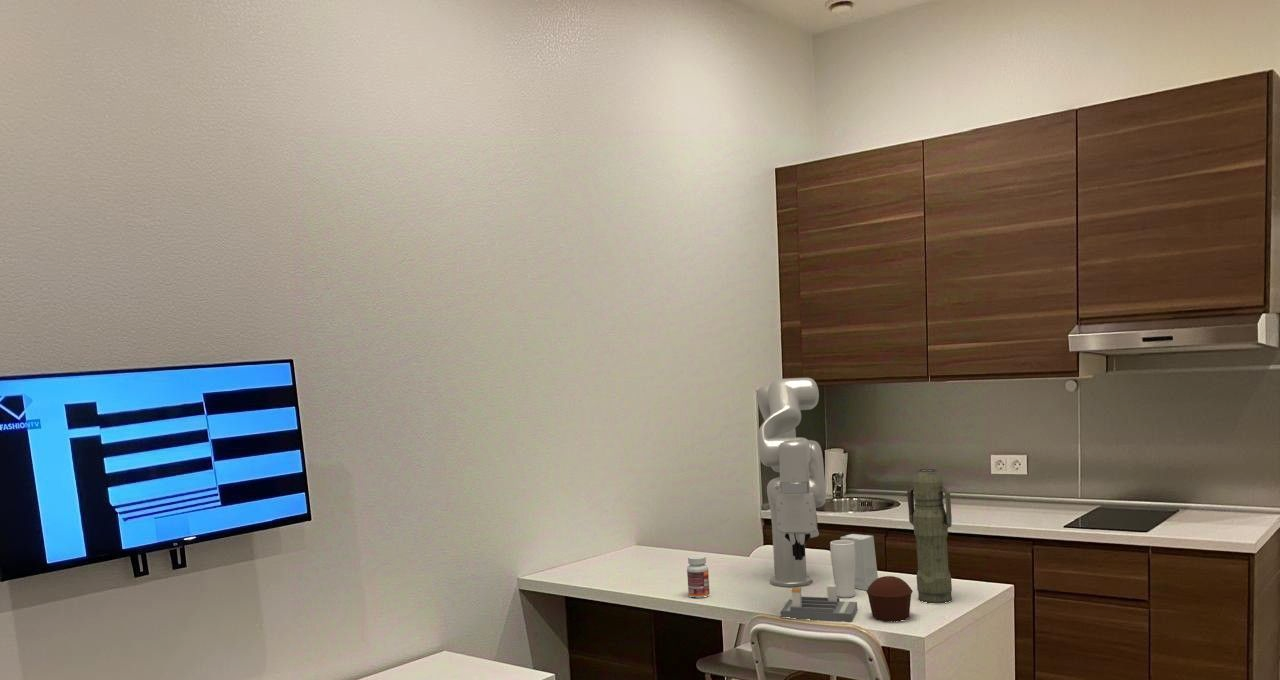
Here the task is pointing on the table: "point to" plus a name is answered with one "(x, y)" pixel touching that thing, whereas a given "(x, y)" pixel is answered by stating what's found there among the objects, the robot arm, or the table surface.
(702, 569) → the pill bottle
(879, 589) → the muffin
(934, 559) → the green vase with handles
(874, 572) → the skincare box
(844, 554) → the drinking glass
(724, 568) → the table surface
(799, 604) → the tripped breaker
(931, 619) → the table surface
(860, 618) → the table surface
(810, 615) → the grey ridged tray
